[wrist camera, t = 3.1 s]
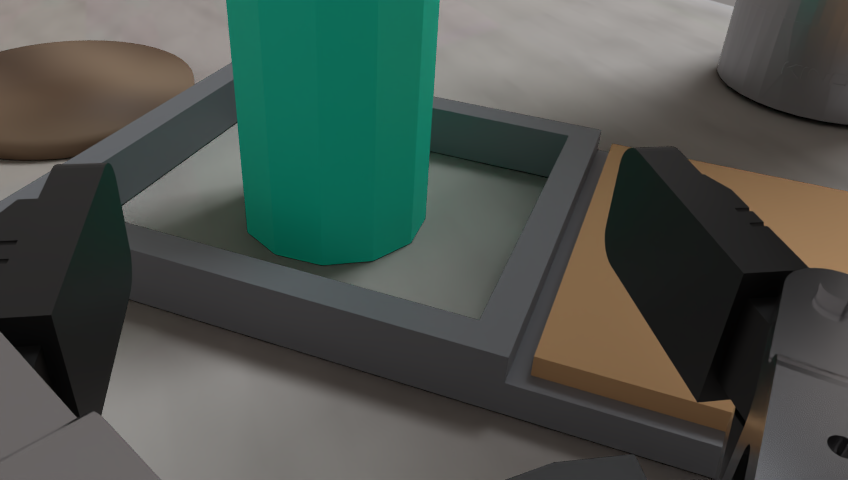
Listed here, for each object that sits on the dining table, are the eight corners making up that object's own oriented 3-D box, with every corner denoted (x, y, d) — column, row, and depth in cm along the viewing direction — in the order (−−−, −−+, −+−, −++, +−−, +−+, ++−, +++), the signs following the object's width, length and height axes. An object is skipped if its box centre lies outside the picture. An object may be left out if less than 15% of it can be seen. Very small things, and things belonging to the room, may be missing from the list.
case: (242, 98, 32) (239, 57, 31) (1052, 272, 25) (1082, 226, 24) (4, 261, 22) (-12, 208, 21) (1262, 647, 14) (1331, 593, 13)
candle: (320, 153, 29) (312, -216, 22) (458, 203, 26) (495, -195, 19) (203, 222, 24) (148, -210, 18) (354, 290, 22) (356, -183, 15)
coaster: (58, 43, 36) (54, 27, 36) (241, 81, 34) (239, 64, 33) (-135, 125, 28) (-142, 105, 28) (84, 183, 26) (79, 162, 25)
